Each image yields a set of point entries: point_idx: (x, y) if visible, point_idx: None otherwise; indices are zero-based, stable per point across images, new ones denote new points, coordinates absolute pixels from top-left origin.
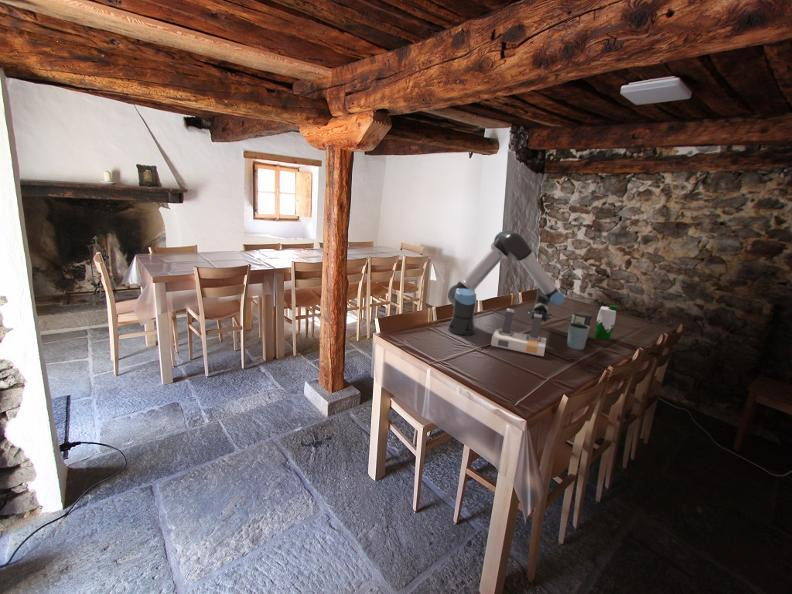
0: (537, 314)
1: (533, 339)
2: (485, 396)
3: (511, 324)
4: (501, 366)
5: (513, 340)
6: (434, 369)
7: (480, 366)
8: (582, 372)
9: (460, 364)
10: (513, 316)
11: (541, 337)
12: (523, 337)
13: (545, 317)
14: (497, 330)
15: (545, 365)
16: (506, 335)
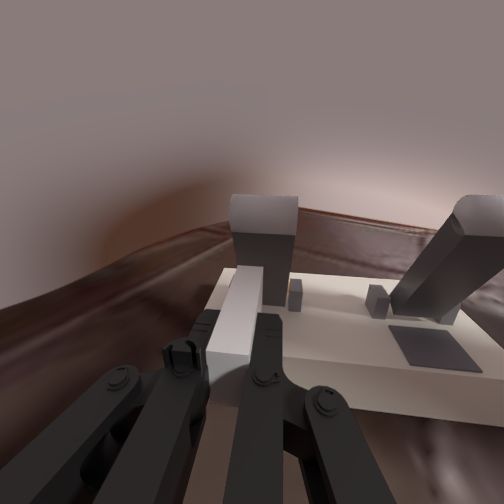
0: (271, 196)
1: (265, 307)
2: (314, 210)
3: (409, 271)
4: (324, 244)
5: (342, 277)
6: (407, 224)
7: (357, 238)
8: (145, 261)
9: (390, 236)
10: (444, 245)
11: (232, 277)
12: (315, 312)
13: (123, 366)
14: (494, 351)
15: (231, 264)
16: None
